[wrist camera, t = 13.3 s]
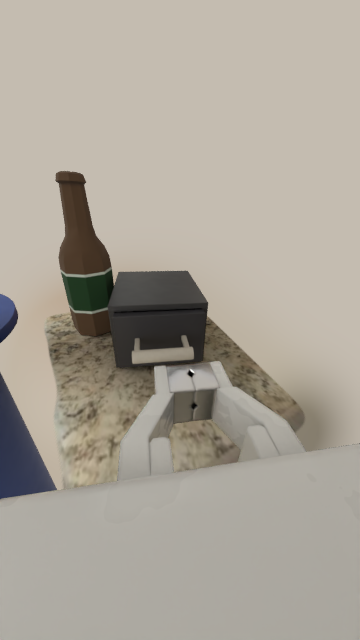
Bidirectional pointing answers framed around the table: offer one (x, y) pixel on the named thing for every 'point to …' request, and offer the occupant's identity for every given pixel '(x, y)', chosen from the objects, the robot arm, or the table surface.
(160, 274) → the cabinet
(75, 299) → the beer bottle
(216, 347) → the table surface
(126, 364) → the drawer
